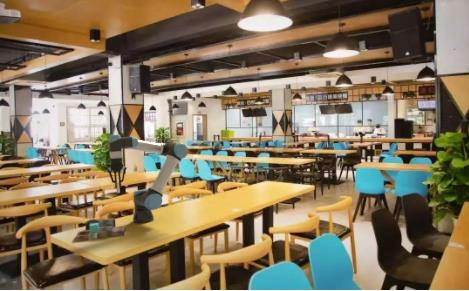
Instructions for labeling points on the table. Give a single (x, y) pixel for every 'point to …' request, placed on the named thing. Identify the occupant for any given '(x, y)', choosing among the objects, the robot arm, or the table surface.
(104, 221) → the brown piece
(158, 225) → the table surface
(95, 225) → the teal block
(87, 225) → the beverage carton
